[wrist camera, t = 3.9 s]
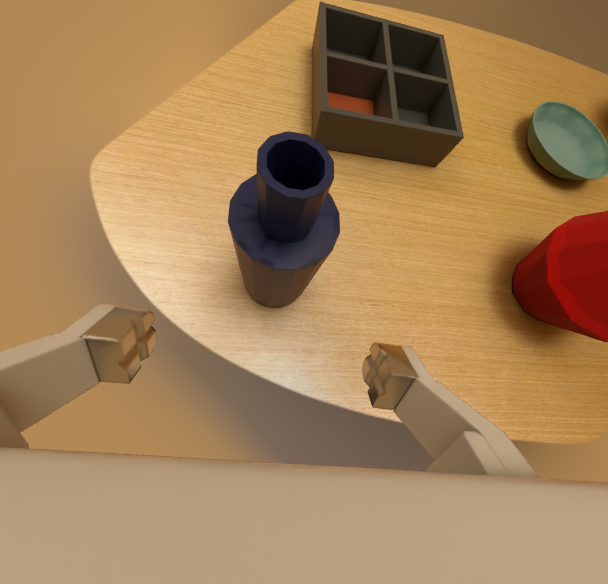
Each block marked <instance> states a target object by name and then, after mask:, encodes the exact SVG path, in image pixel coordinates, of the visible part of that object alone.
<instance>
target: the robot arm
mask: <svg viewBox="0 0 608 584" xmlns="http://www.w3.org/2000/svg"><path fill="white" fill-rule="evenodd" d="M154 321H155V319H154V313H153V312H151V311H148V310H141V309H135V308H129V307H123V306H115V305H109V304H100V305H97V306H96V307H95V308H93V309H92V310H91V311H89V312H88V313H87V314H85V315H84V316H83V317H81V318H80V319H79V320H77V321H76V322H75V323H74V324H72V325H71V326H70V327H68V328H67V329H66V330H64V331H63V332H62V333H60V334H59V335H49V336H46V337H43V338H40V339H37V340H34V341H31V342H28V343H25V344H22V345H19V346H16V347H12V348H9V349H6V350H3V351H0V584H608V482H596V481H595V482H594V481H578V480H560V479H543V478H539V476H538V475H537V474H536V473H535V471H534V470H533V469H532V467H531V466H530V465H529V463H528V462H527V461H526V460H525V458H524V457H523V455H522V454H521V453H520V452H519V450H518V449H517V448H516V446H515V445H514V444H513V442H512V441H511V440H510V438H509V437H508V436H507V434H506V433H505V432H503V431H502V430H501V429H499V428H498V427H497V426H495V425H494V424H493V423H492V422H490V421H489V420H488V419H486V418H485V417H484V416H482V415H481V414H480V413H479V412H477V411H476V410H475V409H473V408H472V407H471V406H469V405H468V404H467V403H466V402H464V401H463V400H462V399H460V398H459V397H458V396H456V395H455V394H454V393H453V392H451V391H450V390H449V389H447V388H446V387H445V386H443V385H442V384H441V383H440V382H438V381H437V380H433V379H432V377H431V376H430V374H429V373H428V371H427V369H426V368H425V366H424V365H423V363H422V361H421V360H420V358H419V357H418V355H417V353H416V352H415V350H414V349H413V348H412V347H409V346H401V345H398V346H397V345H390V344H383V343H375V342H374V343H373V344H372V345H371V347H370V349H369V350H370V352H371V354H370V355H369V356H367V357H366V358H365V360H364V362H363V367H362V374H363V379H364V382H365V383H366V384H367V385H368V386H369V389H368V395H369V398H370V401H371V404H372V407H373V408H380V409H388V410H394V412H395V413H396V415H397V416H398V417H399V418H400V420H401V421H402V422H403V423H404V424H405V426H406V427H407V428H408V429H409V430H410V432H411V433H412V434H413V435H414V436H415V438H416V439H417V440H418V441H419V442H420V444H421V445H422V446H423V447H424V448H425V450H426V451H427V452H428V453H429V454H430V456H431V457H432V458H433V459H434V460H435V461H434V462H433V463H432V464H431V465H430V466H429V467H428V468H427V471H426V472H423V471H404V470H388V469H371V468H354V467H337V466H320V465H303V464H286V463H269V462H252V461H234V460H217V459H200V458H199V459H198V458H182V457H164V456H147V455H131V454H113V453H112V454H111V453H96V452H79V451H62V450H44V449H29V445H28V443H27V442H26V440H25V439H24V438H23V436H22V435H21V434H20V432H22V431H24V430H25V429H27V428H28V427H30V426H32V425H33V424H35V423H36V422H38V421H40V420H41V419H43V418H44V417H46V416H48V415H49V414H51V413H52V412H54V411H56V410H57V409H59V408H60V407H62V406H64V405H65V404H67V403H69V402H70V401H72V400H73V399H75V398H76V397H78V396H80V395H81V394H83V393H85V392H86V391H88V390H89V389H91V388H93V387H94V386H96V385H97V384H99V382H112V383H126V384H129V383H130V382H131V381H132V379H133V378H134V376H135V375H136V374H137V372H138V371H139V370H140V368H141V363H140V361H142V360H144V359H146V358H148V357H149V356H150V354H151V353H152V351H153V349H154V347H155V344H156V339H157V333H156V330H155V329H154V328H153V327H152V326H151V325H152V324H153V322H154Z"/></svg>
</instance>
